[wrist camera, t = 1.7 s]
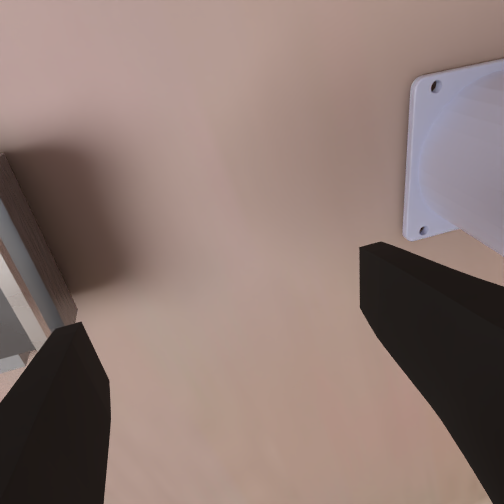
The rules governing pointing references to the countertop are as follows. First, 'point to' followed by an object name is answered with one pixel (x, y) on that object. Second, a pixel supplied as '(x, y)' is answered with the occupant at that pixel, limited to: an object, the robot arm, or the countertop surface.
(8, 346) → the trolley
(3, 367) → the dock
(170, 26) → the countertop surface
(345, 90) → the countertop surface
